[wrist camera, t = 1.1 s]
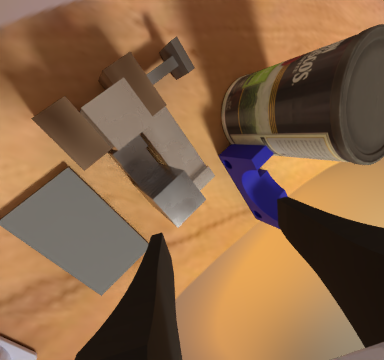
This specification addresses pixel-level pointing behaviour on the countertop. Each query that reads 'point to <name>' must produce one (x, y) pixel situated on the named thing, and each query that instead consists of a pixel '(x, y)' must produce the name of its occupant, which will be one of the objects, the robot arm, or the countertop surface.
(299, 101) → the coffee can
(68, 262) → the pad
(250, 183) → the blue cradle bracket
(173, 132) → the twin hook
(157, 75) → the vise
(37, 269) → the countertop surface
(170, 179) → the gray stepped bracket
